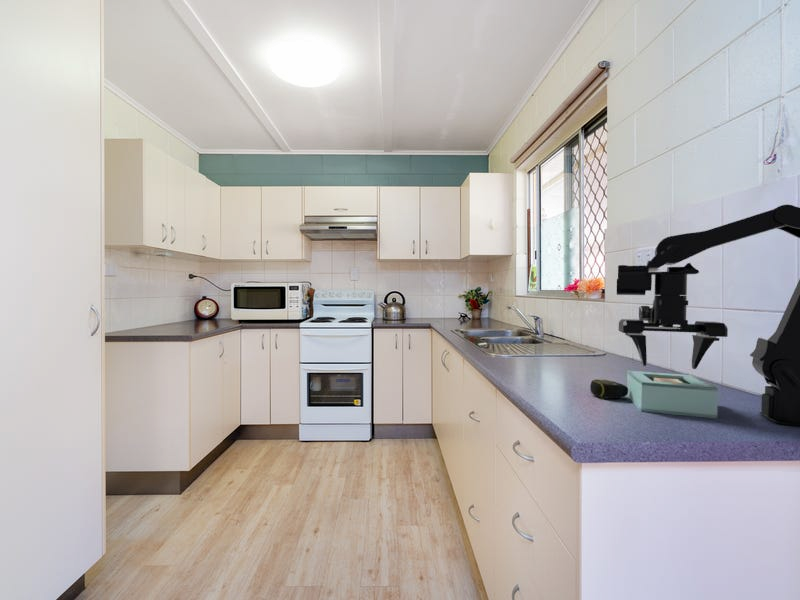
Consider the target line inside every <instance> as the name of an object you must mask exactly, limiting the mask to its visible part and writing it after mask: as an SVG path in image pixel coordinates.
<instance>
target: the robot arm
mask: <svg viewBox="0 0 800 600" xmlns="http://www.w3.org/2000/svg"><path fill="white" fill-rule="evenodd" d="M775 229H776V230H779V231H783V232H785V233H787V234H788V235H791V236H794V237H795V238H797V239H800V207H799V206H796V205H794V204H793V205H792V204H782V205H779V206H777V207H775V208H772V209H770V210H767V211H763V212H760V213H757V214H754V215H752V216H748V217H746V218H742V219H738V220H735V221H732V222H730V223H726V224H723V225H720V226H719V225H718V226H717V227H713V228H710V229H707V230H703V231H697V232H688V233H682V234H676V235H670V236H667V237H664V238H663V239H662V240H660V241H659V243H658V244H657V246H656V247H655V249H654V256H653V257H652V259H650V260H647V262H646V263H647V264H646V265H624V264H621V265H620V264H619V265H618V267H617V278H616V295H617V296H645V295H646V292H647V291H649V292H651V291H652V285H653V284H652V282H653V281H652V280H653V278H652V277H653V276H654V299H653V302H652V307H650V305H640V306H638V307H639V308H638V319H629V318H628V319H627V318H622V319H620V320H619V322H618V331H619V332H620V333H622V334H624V335H625V336H626V337H628V338H631V339H632V341H633V343H634V346H635V347H636V350H637V353H638V355H639V357H640V358H639V359H640V360H641V364H642V366H644V367H646V366H647V363H648V362H647V359H648V357H647V356H648V355H647V336H646V335H645V334H643V333H644V331H645V332H667V333H668V332H670V333H671V332H672V333H695V334H692V335H691V337H692V341H693V346H692V357H691V368H692V370H696V369H697V368H698V366H699V365H700V363H701V361H702V360H703V357H704V356H705V354H706V352H707V351H708V350H709V348H710V347H711V346H712V345H713V343H714V342H719V341H720V338H726V337H728V330H729V329H728V326H727V324H725V322H719V321H708V320H706V321H703V320H702V321H699V320H695V321H694V323H688V322H689V321H688V319H687V306H689V300H687V298H688V296H687V295H688V294H687V293H688V292H687V291H688V290H687V289H688V275H697V274H699V273H700V270H699V269H697V268H696V267H694V266H693V265H692V263H691V262H687V263H686V264H685V265H683V266H671V265H677V264H679V263H680V262H682V261H685V260H688V259H689V258H692V257H694V256H696V255H697V254H700V253H702V252H704V251H706V250H709V249H711V248H715V247H718V246H722V245H725V244H729V243H731V242H736V241H739V240H742V239H745V238H749V237H752V236H756V235H759V234H761V233H762V234H763V233H765V232H770V231H773V230H775ZM665 265H667V266H668V267H667V268H666V271H654V270H657V269H659V268H661V267H662V266H665ZM645 321H647V322H645ZM675 325H676V326H675ZM749 357H751V358H752V361H751V364H752V367H753V368H754V370H755V372H757V373H758V374H759V375H761V376H762V377H763V378H764V381H765V382H766V384H768V385H769V386H768V385H765V386H764V388H765V389H764V393H762V394H761V409H760V410H761V411H759V415H760V416H762V417H764V418H766V419H768V420H770V421H771V422H774V423H775V424H780V425H787V426H789V425H790V426H799V427H800V278H799V280H798V281H797V284H796V286H795V289H794V291H793V292H792V295H791V298H790V299H789V302H788V303H787V305H786V308H785V310H784V312H783V315H782V317H781V319H780V321H779V324H778V325H777V328H776V329H775V332H774V333H773V334H772V335H771V336H770V337H769V338H768V339H766V338H762V337H758V338H757V340H756V345H755V349H754V350H753V351H752V352H751V353H750V354H749Z"/></svg>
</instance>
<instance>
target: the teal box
mask: <svg viewBox="0 0 800 600" xmlns="http://www.w3.org/2000/svg"><path fill="white" fill-rule="evenodd" d="M626 376H627V379H626V381H627V382H626V387H627V388H628V394H627V395H626V396H627V397H628V398H629V399H630V401H631V402H632V403H633V404H634V405H635V406H636V408H637V409H638V410H640V411H641V412H645V413H656V414H666V415H675V416H676V415H677V416H685V417H686V416H687V417H698V418H707V419H718V404H719V403H718V398H719V388H718V387H716V386H714V385H713V384H711V383H709V382H707V381H705V380H703V379H701V378H699V377H697V376H695V375H693V374H684V373H682V374H681V373H667V372H652V371H639V370H638V371H637V370H627V375H626ZM654 378H668V379H678V380H679V381H681V382H683V383H673V382H660V381H654Z"/></svg>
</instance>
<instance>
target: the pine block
mask: <svg viewBox="0 0 800 600" xmlns="http://www.w3.org/2000/svg"><path fill="white" fill-rule="evenodd" d="M654 381H660V382H673V383H683V382H681V381H679V380H678V379H668V378H654Z"/></svg>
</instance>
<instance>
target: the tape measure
mask: <svg viewBox="0 0 800 600" xmlns="http://www.w3.org/2000/svg"><path fill="white" fill-rule="evenodd" d="M589 389H590V393H591V394H592V395H594V396H597V397H599V398H601V399H619V398H622V397H623V398H624V397H626V396H627V394H628V388H627V385H624V384H622V383H619V382H616V381H612V380H607V379H592V381H591V382H590V387H589Z"/></svg>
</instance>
